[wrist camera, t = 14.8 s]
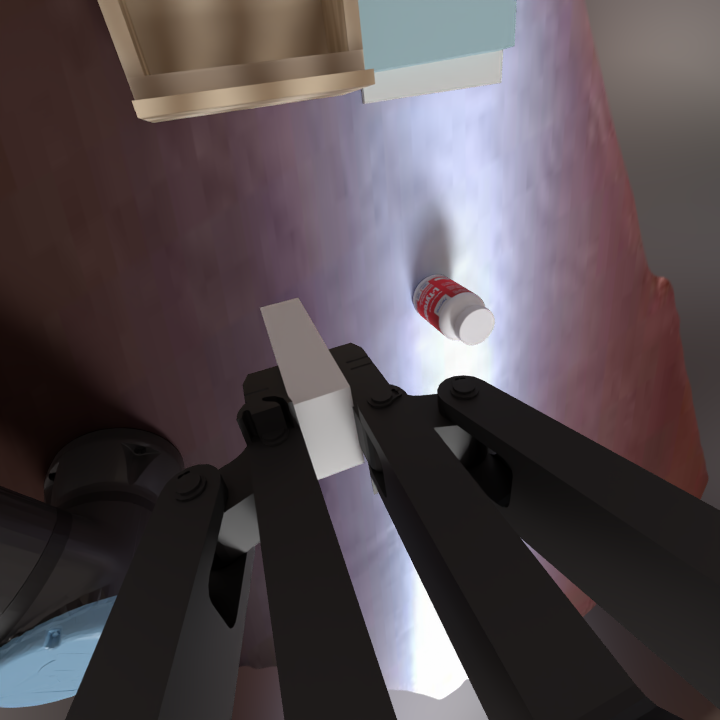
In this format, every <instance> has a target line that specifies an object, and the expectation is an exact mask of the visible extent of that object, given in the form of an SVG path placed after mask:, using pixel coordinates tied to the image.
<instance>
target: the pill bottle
mask: <svg viewBox="0 0 720 720" xmlns="http://www.w3.org/2000/svg"><path fill="white" fill-rule="evenodd" d="M413 304H414V308H415V310H416V311H417V312H418V313H419V314H420V315H421V316H422V317H423V318H424V319H426V320H427V321H428V322H429V323H430V324H431V325H433V326H434V327H435V328H436V329H437V330H439V331H440V332H441V333H442V334H443V335H445V336H446V337H447V338H449V339H452V340H461V341H462V342H463V343H465V344H467V345H476V344H479V343H481V342H483V341H484V340H485V339H486V338H488V336H489V335H490V334H491V332H492V330H493V328H494V323H495V319H494V315H493V313H492V312H491V311H490V310H489V309H487V308H486V307H485V304H484V302H483V300H482V299H481V298H480V297H479V296H478V295H476V294H474V293H473V292H471V291H469V290H468V289H466V288H464V287H463V286H461V285H459V284H458V283H456V282H454V281H453V280H451V279H449V278H448V277H446V276H443V275H431V276H428V277H426V278H425V279H423V280H422V281H421V282H420V283H419V285H418V286H417V288H416V290H415V292H414V296H413Z"/></svg>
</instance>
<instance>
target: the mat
mask: <svg viewBox="0 0 720 720" xmlns="http://www.w3.org/2000/svg"><path fill="white" fill-rule="evenodd" d="M502 60H503V50H500V51H495V52H489V53H483V54H478V55H472V56H466V57H461V58H455V59H449V60H443V61H438V62H432V63H426V64H421V65H415V66H409V67H404V68H398V69H392V70H386V71H381V72H375V73H374V76H375V84H374V85H371V86H368V87H365V88H362V89H361V90H362V99H363V104H367V103H373V102H380V101H386V100H393V99H399V98H406V97H413V96H419V95H426V94H432V93H439V92H445V91H452V90H458V89H465V88H471V87H478V86H484V85H491V84H497V83H501V78H502Z"/></svg>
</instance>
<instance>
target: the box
mask: <svg viewBox="0 0 720 720" xmlns="http://www.w3.org/2000/svg"><path fill="white" fill-rule="evenodd" d="M98 3H99V5H100V8H101V11H102V13H103V16H104V19H105V21H106V24H107V27H108V29H109V32H110V35H111V37H112V40H113V43H114V45H115V48H116V51H117V53H118V56H119V59H120V61H121V64H122V67H123V69H124V72H125V75H126V77H127V80H128V83H129V85H130V88H131V91H132V93H133V96H134V99H135V101H132V103H133V106H134V108H135V111H136V114H137V116H138V118H140V119H143V120H146V121H150V122H153V123H155V122H162V121H168V120H175V119H182V118H189V117H196V116H203V115H210V114H216V113H223V112H230V111H237V110H244V109H251V108H257V107H264V106H271V105H278V104H285V103H292V102H298V101H305V100H312V99H319V98H326V97H333V96H339V95H344V94H347V93H350V92H353V91H356V90H359V89H362V88H365V87H368V86H371V85H374V84H375V76H374V69H367V70H365V64H364V55H363V45H362V35H361V25H360V15H359V5H358V0H98Z"/></svg>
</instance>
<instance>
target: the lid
mask: <svg viewBox="0 0 720 720" xmlns="http://www.w3.org/2000/svg"><path fill="white" fill-rule="evenodd" d="M516 1H517V0H358V5H359V15H360V25H361V35H362V45H363V55H364V64H365V70H367V69H374V73H375V72H381V71H386V70H392V69H398V68H404V67H409V66H415V65H421V64H426V63H432V62H438V61H443V60H449V59H455V58H461V57H466V56H472V55H478V54H483V53H489V52H495V51H500V50H503V49H507V48H510V47H513V46H514V44H515V23H516Z"/></svg>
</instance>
